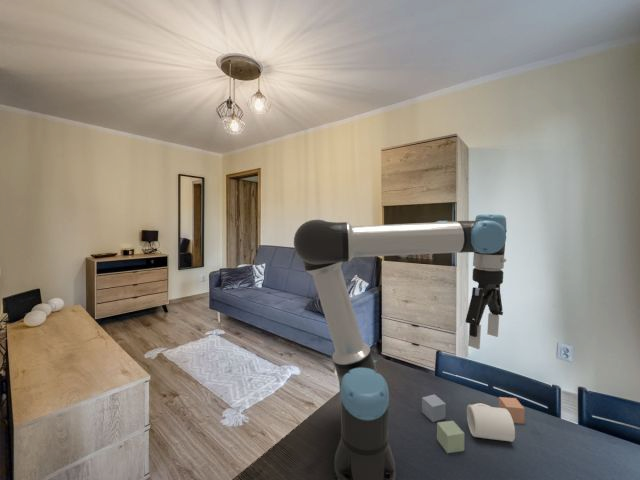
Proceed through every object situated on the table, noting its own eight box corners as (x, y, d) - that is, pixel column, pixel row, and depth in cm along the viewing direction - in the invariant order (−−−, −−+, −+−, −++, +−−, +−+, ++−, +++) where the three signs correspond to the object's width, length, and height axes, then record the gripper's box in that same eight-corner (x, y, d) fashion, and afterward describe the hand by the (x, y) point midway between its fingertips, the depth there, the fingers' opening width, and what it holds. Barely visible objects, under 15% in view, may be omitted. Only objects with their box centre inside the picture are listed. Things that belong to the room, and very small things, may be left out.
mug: (515, 449, 76) (515, 421, 76) (475, 443, 78) (475, 416, 78) (496, 418, 88) (497, 394, 87) (462, 414, 90) (462, 390, 89)
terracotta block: (506, 422, 86) (506, 406, 86) (498, 411, 91) (498, 396, 91) (524, 424, 85) (524, 408, 85) (515, 413, 90) (515, 398, 90)
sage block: (447, 453, 75) (447, 435, 75) (436, 439, 80) (437, 422, 79) (464, 451, 76) (464, 433, 75) (452, 437, 81) (453, 420, 80)
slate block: (432, 422, 86) (432, 407, 86) (421, 412, 91) (422, 397, 91) (445, 418, 88) (445, 403, 88) (434, 408, 93) (434, 394, 92)
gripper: (485, 275, 69) (480, 358, 70) (517, 266, 85) (513, 334, 86) (454, 270, 75) (450, 347, 76) (490, 263, 90) (486, 327, 92)
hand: (483, 341), depth 81 cm, fingers open, 13 cm apart
